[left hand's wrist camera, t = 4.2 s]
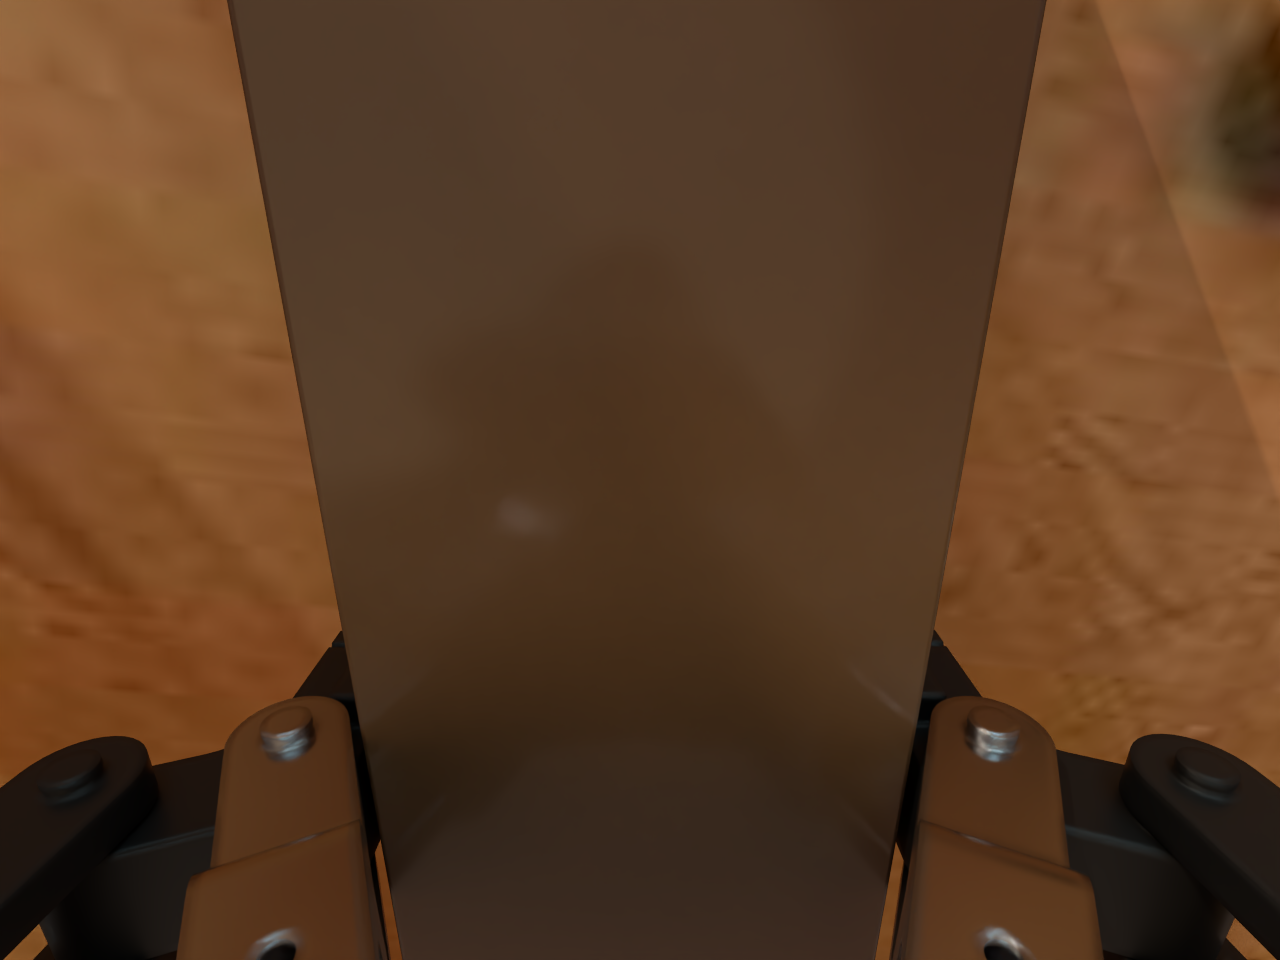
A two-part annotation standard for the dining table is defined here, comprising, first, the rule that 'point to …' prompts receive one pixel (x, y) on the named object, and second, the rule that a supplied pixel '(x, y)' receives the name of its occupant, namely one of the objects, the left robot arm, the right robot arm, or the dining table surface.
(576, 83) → the box
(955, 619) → the dining table surface
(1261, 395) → the dining table surface
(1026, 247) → the dining table surface
